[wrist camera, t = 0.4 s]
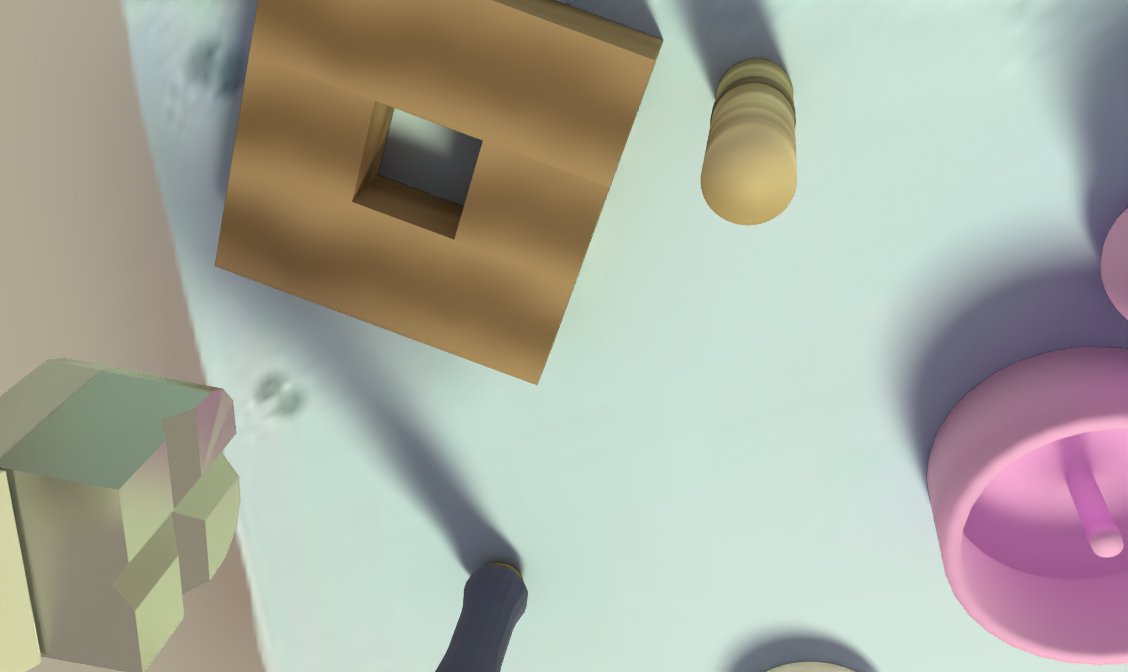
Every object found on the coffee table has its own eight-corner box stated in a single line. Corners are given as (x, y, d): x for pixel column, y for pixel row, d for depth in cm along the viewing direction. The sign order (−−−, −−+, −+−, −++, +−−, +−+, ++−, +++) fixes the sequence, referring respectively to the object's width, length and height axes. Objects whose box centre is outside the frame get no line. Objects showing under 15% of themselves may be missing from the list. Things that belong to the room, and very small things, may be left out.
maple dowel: (732, 46, 50) (720, 118, 40) (807, 73, 50) (814, 153, 40) (703, 118, 52) (685, 206, 41) (775, 144, 52) (774, 239, 41)
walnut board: (306, -92, 51) (271, -82, 47) (663, 40, 50) (654, 60, 47) (247, 236, 59) (214, 265, 56) (551, 349, 59) (537, 385, 56)
